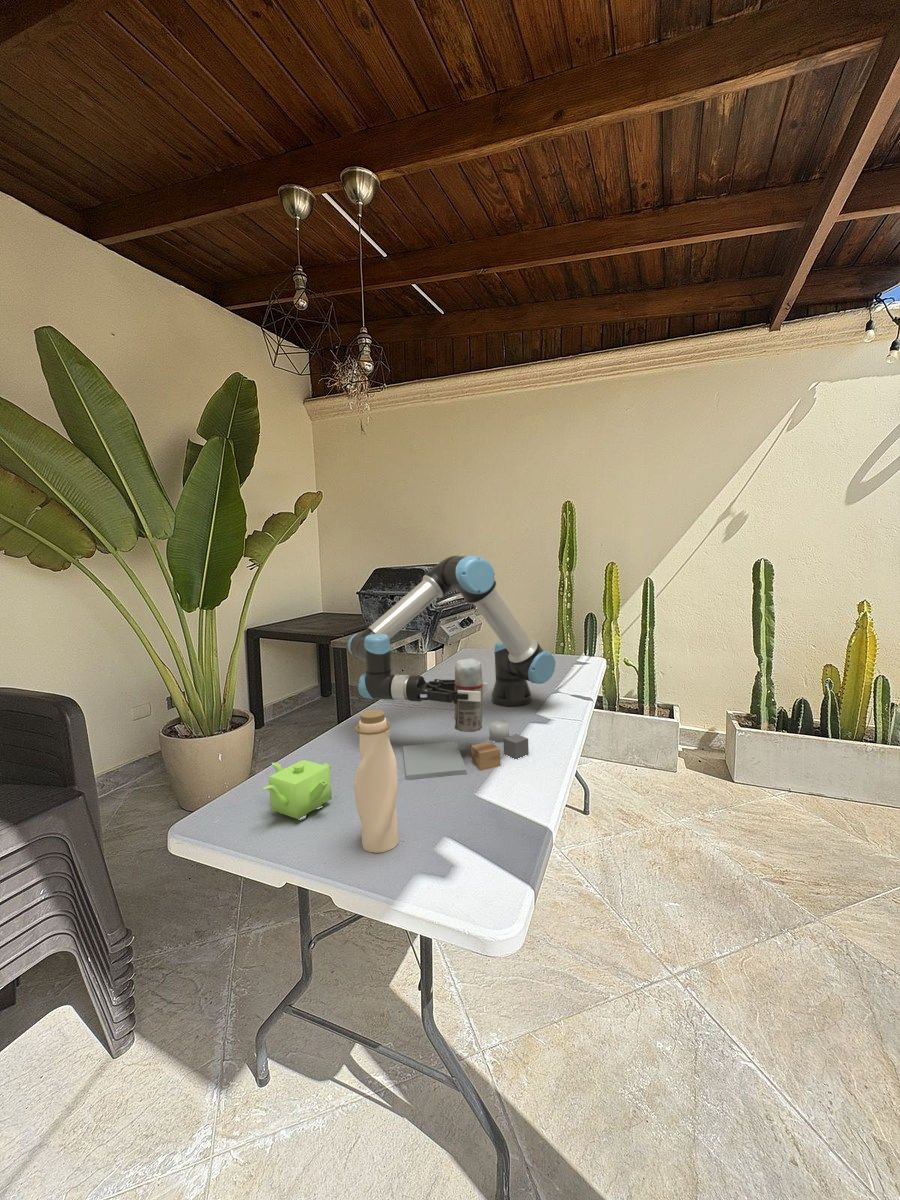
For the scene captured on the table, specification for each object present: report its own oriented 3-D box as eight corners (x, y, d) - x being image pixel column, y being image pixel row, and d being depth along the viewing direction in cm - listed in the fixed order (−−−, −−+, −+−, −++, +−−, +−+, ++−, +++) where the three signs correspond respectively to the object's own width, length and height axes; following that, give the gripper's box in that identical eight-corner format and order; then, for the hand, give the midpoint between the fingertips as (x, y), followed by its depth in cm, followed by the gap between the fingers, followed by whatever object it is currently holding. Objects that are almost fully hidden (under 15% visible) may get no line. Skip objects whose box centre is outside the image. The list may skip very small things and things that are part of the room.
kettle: (266, 831, 118) (262, 783, 117) (270, 801, 132) (266, 758, 131) (335, 819, 122) (332, 772, 121) (332, 791, 136) (329, 749, 134)
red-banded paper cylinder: (488, 725, 156) (486, 658, 154) (477, 734, 148) (475, 664, 146) (461, 722, 159) (459, 656, 157) (450, 731, 152) (447, 662, 150)
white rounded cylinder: (487, 736, 168) (487, 720, 168) (506, 734, 169) (505, 719, 168) (491, 743, 162) (491, 727, 162) (511, 741, 163) (510, 725, 162)
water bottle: (360, 828, 117) (352, 706, 114) (401, 825, 118) (394, 703, 115) (356, 856, 107) (347, 722, 104) (401, 852, 108) (393, 719, 105)
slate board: (403, 750, 160) (402, 746, 160) (455, 745, 162) (455, 741, 162) (406, 779, 140) (406, 775, 140) (466, 773, 142) (466, 769, 142)
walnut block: (471, 762, 150) (471, 745, 149) (491, 758, 152) (490, 741, 151) (480, 770, 144) (479, 753, 143) (500, 766, 146) (500, 749, 145)
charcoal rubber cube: (503, 754, 154) (503, 738, 153) (516, 750, 157) (515, 733, 156) (516, 760, 150) (515, 743, 149) (528, 755, 153) (528, 738, 152)
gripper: (422, 690, 168) (492, 694, 161) (396, 711, 149) (475, 717, 142) (421, 667, 167) (491, 670, 160) (395, 685, 148) (474, 689, 141)
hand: (484, 692), depth 151 cm, fingers closed on red-banded paper cylinder, 8 cm apart
